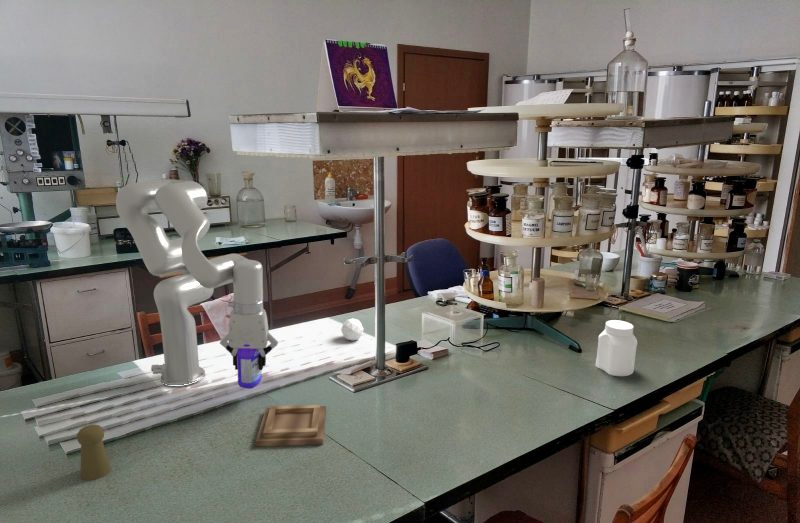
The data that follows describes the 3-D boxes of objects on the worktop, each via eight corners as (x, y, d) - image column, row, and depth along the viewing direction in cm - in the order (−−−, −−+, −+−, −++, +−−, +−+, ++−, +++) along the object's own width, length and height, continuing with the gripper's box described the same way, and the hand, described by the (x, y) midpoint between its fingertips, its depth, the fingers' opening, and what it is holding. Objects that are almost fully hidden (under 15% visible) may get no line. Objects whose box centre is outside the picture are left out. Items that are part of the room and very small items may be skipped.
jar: (590, 363, 185) (594, 320, 182) (613, 359, 189) (618, 316, 185) (615, 378, 175) (620, 333, 171) (639, 373, 179) (645, 329, 175)
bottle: (253, 391, 153) (252, 332, 148) (234, 388, 154) (232, 329, 149) (265, 379, 160) (264, 322, 155) (246, 376, 161) (245, 319, 156)
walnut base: (256, 446, 137) (255, 436, 136) (266, 412, 152) (265, 403, 152) (322, 444, 138) (322, 434, 138) (326, 410, 154) (325, 401, 153)
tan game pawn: (87, 464, 129) (81, 421, 126) (115, 463, 130) (109, 420, 127) (75, 480, 123) (68, 436, 121) (104, 479, 124) (98, 435, 121)
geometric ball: (355, 348, 201) (355, 337, 195) (337, 337, 204) (336, 325, 197) (367, 333, 206) (367, 321, 199) (349, 322, 208) (349, 310, 202)
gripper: (212, 310, 147) (214, 373, 152) (279, 312, 148) (279, 374, 153) (218, 300, 154) (220, 361, 159) (283, 302, 155) (282, 362, 160)
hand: (249, 367), depth 156 cm, fingers closed on bottle, 5 cm apart
